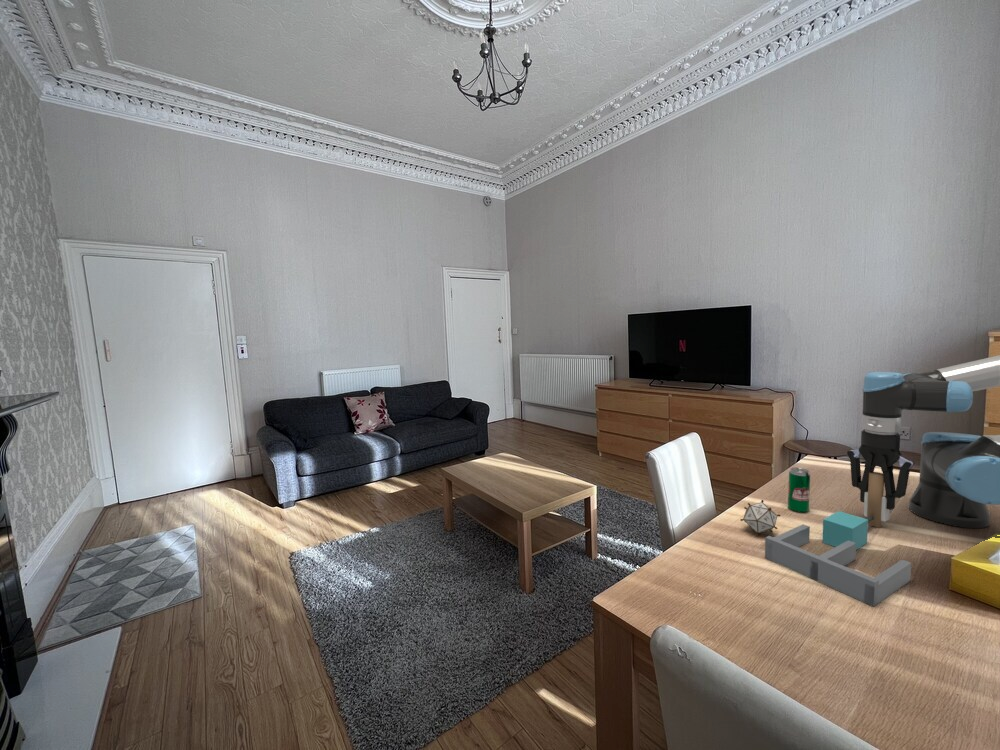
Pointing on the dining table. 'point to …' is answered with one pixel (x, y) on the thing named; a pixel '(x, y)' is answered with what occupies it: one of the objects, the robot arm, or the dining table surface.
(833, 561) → the lane rack
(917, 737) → the dining table surface
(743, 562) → the dining table surface
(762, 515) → the game die
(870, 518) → the teal block-headed stick
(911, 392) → the robot arm
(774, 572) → the dining table surface
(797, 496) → the soda can
